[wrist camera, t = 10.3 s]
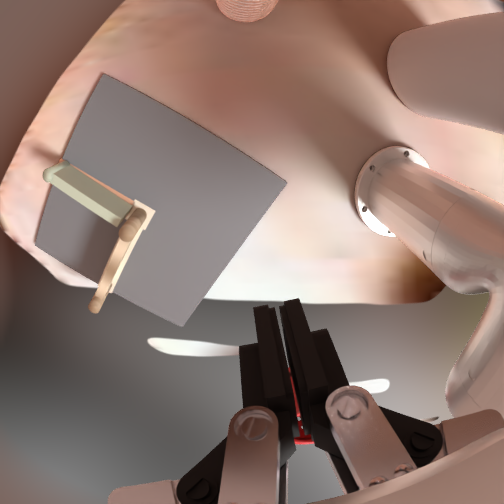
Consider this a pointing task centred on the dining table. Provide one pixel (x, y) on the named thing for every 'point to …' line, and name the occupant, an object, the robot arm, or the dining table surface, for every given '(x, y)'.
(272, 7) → the water bottle
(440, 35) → the cylinder vase
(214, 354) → the dining table surface
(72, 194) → the bar
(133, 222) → the fence fixed
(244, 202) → the board
